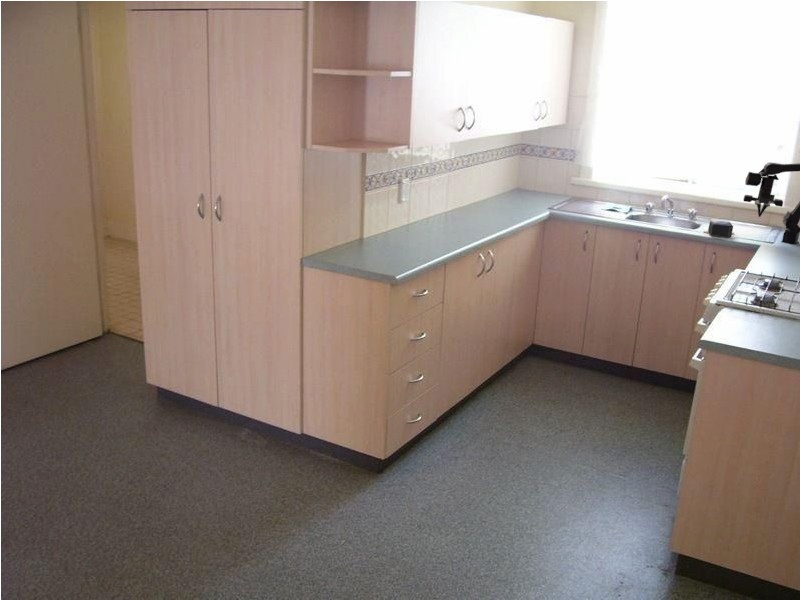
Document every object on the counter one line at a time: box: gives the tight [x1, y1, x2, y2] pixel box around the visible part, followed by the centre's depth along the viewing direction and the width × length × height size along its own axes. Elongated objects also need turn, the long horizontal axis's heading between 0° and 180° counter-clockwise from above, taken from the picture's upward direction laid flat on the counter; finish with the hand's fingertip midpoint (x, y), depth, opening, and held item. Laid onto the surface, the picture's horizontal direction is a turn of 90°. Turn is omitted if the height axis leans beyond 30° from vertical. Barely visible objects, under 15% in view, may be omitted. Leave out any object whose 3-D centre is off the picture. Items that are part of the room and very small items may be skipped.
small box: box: [707, 220, 734, 238], centre depth 420 cm, size 11×6×10 cm
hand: (759, 216), depth 413 cm, fingers closed
